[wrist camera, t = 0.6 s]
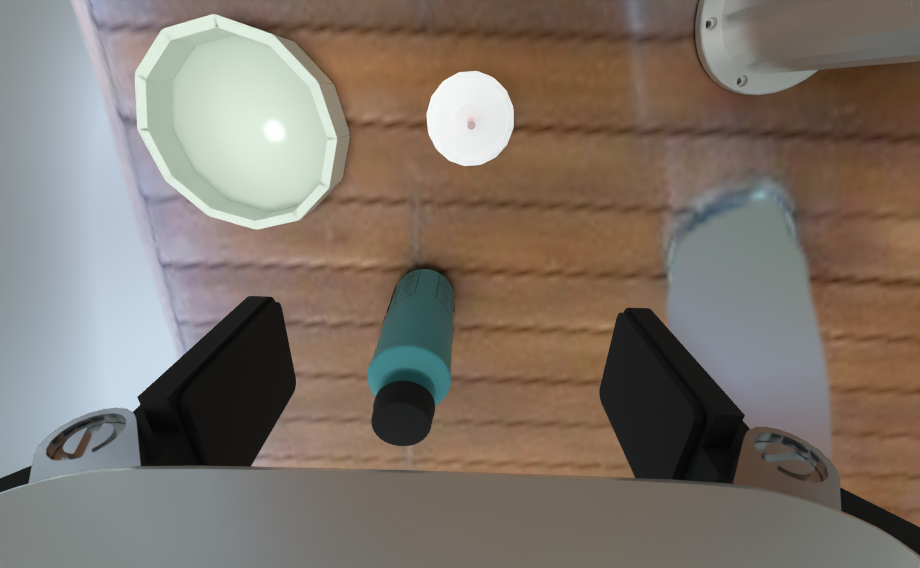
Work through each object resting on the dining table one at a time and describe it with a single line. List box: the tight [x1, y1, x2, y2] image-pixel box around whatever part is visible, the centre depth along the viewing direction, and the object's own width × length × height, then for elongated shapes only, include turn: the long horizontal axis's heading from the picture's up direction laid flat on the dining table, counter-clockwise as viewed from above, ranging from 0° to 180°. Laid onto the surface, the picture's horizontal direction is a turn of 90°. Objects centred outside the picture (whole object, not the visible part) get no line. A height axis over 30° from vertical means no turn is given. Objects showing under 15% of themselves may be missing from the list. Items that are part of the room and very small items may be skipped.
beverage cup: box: [427, 71, 514, 166], centre depth 28 cm, size 6×6×14 cm
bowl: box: [135, 14, 350, 229], centre depth 34 cm, size 16×16×4 cm
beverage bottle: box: [367, 269, 455, 446], centre depth 33 cm, size 6×7×20 cm
